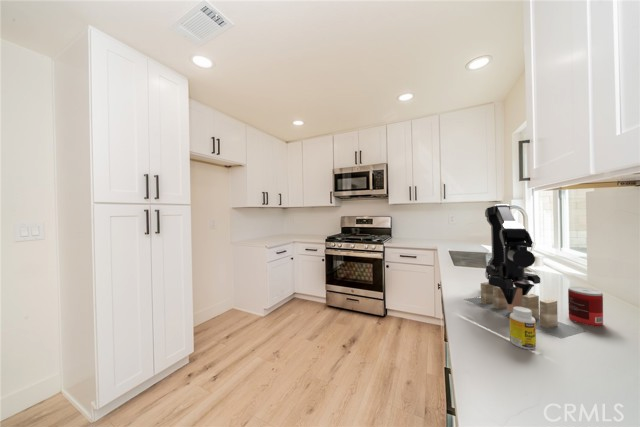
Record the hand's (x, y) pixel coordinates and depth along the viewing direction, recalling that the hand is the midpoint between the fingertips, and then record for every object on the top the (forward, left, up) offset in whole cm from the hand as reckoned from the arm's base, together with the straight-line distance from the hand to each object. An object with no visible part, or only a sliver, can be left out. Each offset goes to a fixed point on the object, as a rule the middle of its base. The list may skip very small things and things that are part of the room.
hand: (514, 303), depth 84 cm
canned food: (-15, +12, -4) cm, 20 cm away
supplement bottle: (+19, +14, -4) cm, 24 cm away
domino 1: (0, -10, -4) cm, 11 cm away
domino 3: (0, 0, -3) cm, 3 cm away
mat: (0, 0, -4) cm, 4 cm away
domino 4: (0, +5, -4) cm, 6 cm away
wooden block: (0, +10, -4) cm, 11 cm away
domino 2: (0, -5, -4) cm, 6 cm away
